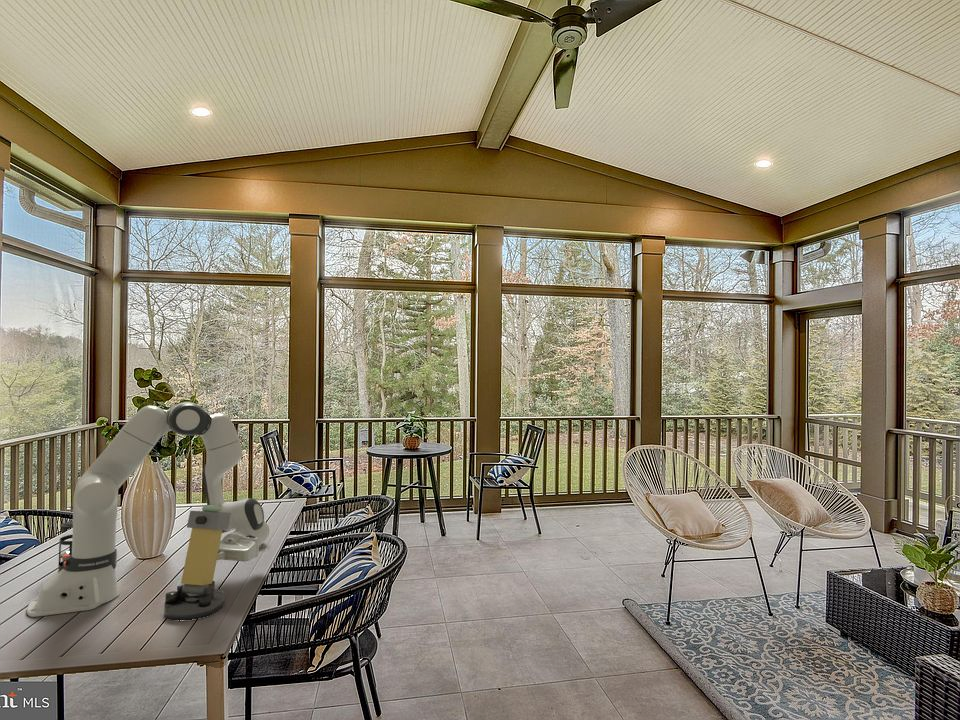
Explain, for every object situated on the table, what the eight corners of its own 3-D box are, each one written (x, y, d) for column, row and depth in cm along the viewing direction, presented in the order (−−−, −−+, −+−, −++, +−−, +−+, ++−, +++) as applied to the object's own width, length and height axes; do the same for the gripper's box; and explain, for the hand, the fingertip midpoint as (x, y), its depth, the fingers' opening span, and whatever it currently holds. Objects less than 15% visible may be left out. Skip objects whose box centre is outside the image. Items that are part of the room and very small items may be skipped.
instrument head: (198, 598, 153) (216, 506, 160) (168, 595, 155) (187, 503, 162) (215, 594, 161) (232, 506, 168) (186, 591, 162) (203, 504, 170)
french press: (87, 574, 182) (90, 508, 183) (53, 578, 178) (56, 510, 179) (94, 563, 193) (96, 500, 193) (62, 566, 189) (65, 502, 189)
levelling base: (201, 623, 150) (202, 599, 150) (151, 618, 152) (152, 594, 152) (235, 599, 166) (235, 577, 166) (189, 595, 168) (190, 573, 168)
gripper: (208, 533, 180) (179, 546, 167) (263, 537, 177) (238, 551, 164) (207, 551, 180) (178, 566, 166) (262, 556, 177) (237, 571, 163)
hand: (208, 559), depth 165 cm, fingers closed
